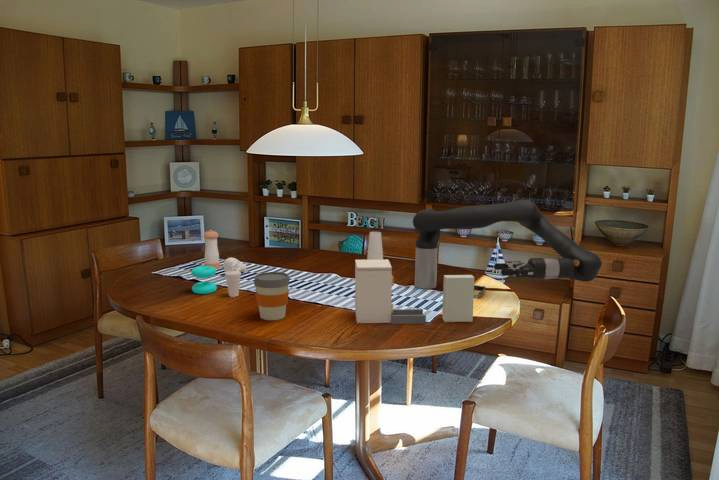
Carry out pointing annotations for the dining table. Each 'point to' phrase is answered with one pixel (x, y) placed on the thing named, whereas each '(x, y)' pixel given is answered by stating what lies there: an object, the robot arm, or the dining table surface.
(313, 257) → the dining table surface
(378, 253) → the champagne flute
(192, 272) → the donuts
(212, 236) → the salt shaker
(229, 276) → the smoothie
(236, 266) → the white lumpy piece
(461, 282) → the door panel
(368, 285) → the hinge cabinet
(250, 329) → the dining table surface
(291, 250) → the dining table surface
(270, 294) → the reusable coffee cup
